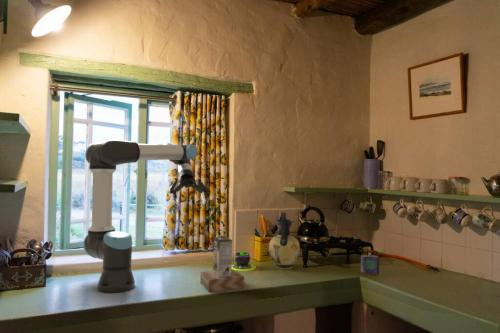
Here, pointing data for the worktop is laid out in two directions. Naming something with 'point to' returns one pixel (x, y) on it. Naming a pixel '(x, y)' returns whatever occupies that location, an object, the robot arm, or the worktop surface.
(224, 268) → the coffee box
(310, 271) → the worktop surface
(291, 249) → the amphora
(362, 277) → the worktop surface
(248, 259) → the toy cauldron
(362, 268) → the flask
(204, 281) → the walnut base
